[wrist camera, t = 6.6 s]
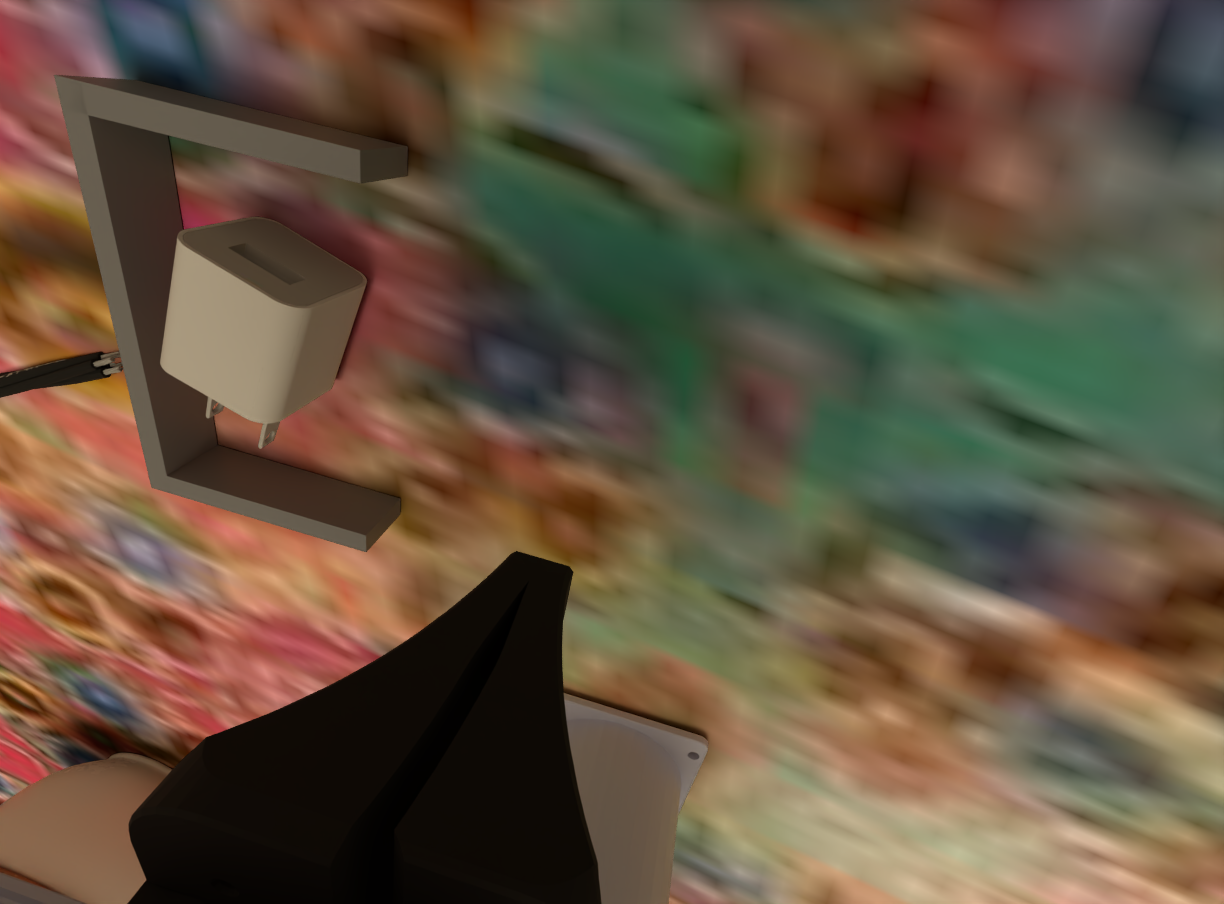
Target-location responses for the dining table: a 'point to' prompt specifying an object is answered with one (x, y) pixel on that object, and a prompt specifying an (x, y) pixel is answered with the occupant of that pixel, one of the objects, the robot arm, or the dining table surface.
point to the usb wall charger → (257, 318)
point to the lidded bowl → (80, 829)
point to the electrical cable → (60, 373)
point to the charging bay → (142, 272)
